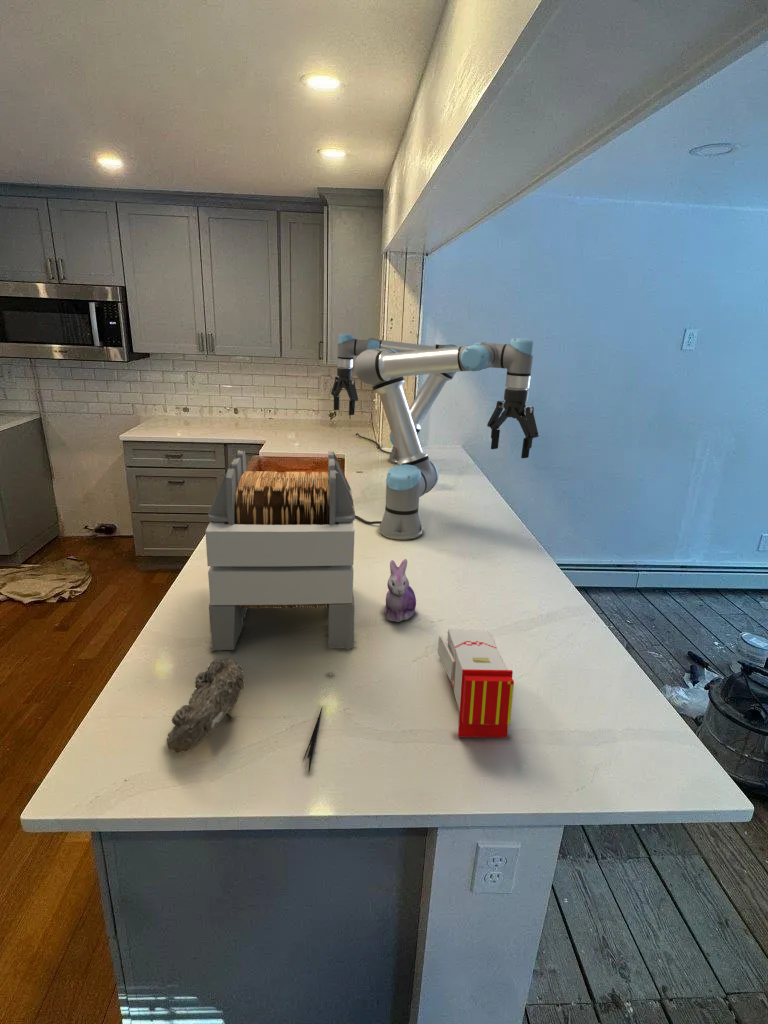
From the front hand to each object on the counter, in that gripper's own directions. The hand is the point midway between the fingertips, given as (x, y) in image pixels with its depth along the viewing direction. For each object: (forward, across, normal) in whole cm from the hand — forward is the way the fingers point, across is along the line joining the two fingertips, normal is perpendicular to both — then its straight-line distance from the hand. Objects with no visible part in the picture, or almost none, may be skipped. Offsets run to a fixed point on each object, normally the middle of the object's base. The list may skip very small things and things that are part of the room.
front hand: (509, 453), depth 189 cm
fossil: (+31, -36, +116) cm, 125 cm away
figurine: (+31, -24, +62) cm, 73 cm away
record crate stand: (+31, -8, +86) cm, 92 cm away
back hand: (+5, +111, -4) cm, 111 cm away
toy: (+31, -57, +68) cm, 94 cm away
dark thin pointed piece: (+31, -47, +99) cm, 114 cm away
